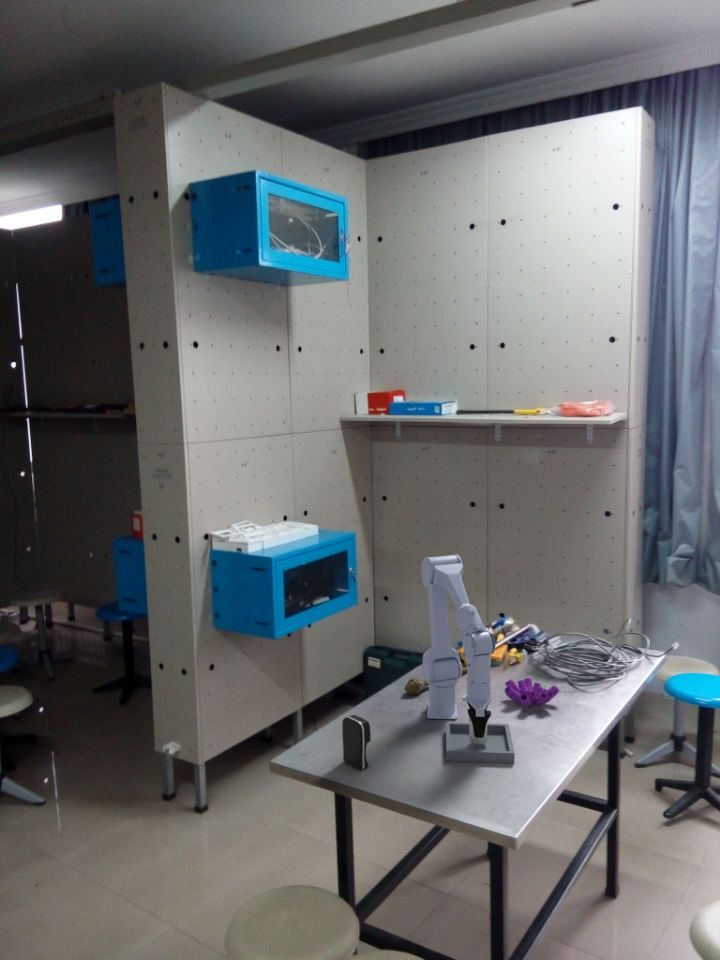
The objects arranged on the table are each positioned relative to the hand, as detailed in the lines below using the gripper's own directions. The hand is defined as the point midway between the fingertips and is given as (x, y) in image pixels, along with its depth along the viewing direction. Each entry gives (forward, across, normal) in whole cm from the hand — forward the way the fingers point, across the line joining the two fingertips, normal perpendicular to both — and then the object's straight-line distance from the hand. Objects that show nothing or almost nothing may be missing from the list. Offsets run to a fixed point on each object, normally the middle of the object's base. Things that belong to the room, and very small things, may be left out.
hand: (478, 732), depth 188 cm
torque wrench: (+4, -43, -8) cm, 44 cm away
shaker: (+2, 0, 0) cm, 2 cm away
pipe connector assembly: (+4, -27, +15) cm, 31 cm away
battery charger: (+4, +11, -29) cm, 31 cm away
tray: (+4, 0, 0) cm, 4 cm away
